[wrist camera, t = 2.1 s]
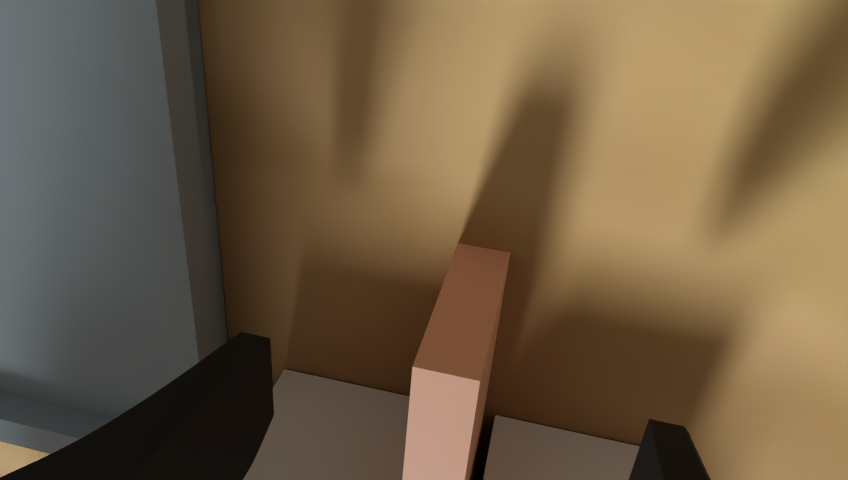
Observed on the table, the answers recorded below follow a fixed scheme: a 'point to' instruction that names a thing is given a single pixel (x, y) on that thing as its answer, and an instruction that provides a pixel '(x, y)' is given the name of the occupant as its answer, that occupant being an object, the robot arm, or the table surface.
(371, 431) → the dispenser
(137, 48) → the tray
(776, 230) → the table surface
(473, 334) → the long salmon pink stick
